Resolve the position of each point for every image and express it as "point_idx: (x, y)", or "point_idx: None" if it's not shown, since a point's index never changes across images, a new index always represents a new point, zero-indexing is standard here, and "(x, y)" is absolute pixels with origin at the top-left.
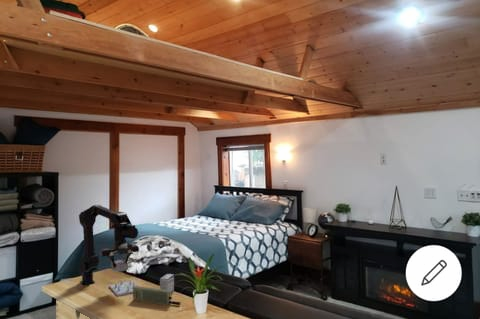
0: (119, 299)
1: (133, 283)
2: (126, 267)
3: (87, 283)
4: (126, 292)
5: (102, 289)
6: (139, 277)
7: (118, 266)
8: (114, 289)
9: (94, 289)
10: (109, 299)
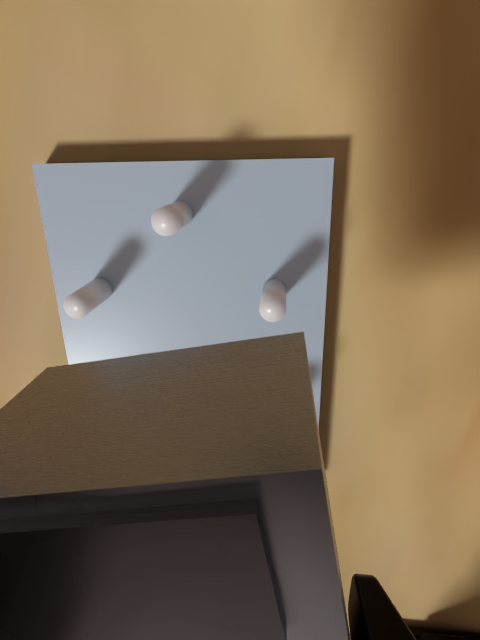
0: (349, 19)
1: (84, 293)
2: (60, 399)
3: (455, 635)
4: (217, 161)
5: (389, 454)
6: None
7: (321, 461)
8: (310, 343)
9: (452, 495)
10: (452, 101)
